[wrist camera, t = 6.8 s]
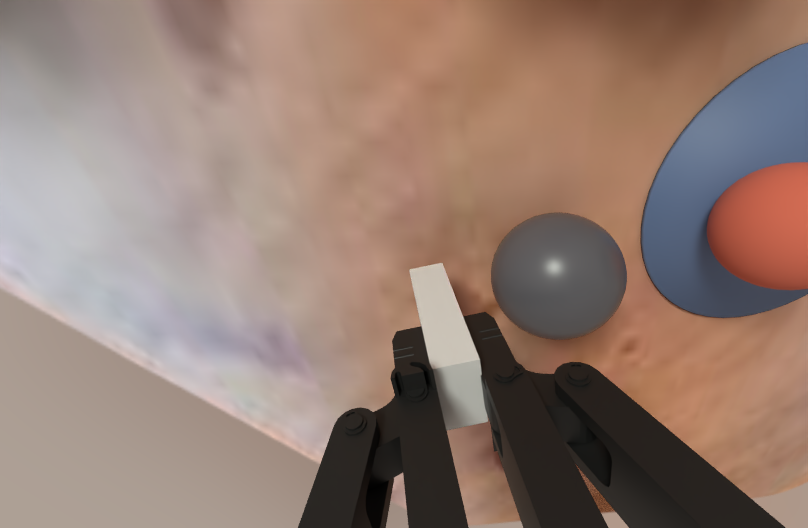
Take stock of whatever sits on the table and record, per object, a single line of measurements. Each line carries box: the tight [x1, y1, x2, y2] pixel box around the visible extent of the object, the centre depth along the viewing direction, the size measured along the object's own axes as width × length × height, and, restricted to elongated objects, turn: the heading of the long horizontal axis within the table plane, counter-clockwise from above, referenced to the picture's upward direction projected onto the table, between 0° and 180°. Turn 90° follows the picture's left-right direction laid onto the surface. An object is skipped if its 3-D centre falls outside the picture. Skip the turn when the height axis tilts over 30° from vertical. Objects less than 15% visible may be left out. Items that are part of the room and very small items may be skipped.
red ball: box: [707, 162, 808, 290], centre depth 18 cm, size 6×6×6 cm
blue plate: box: [641, 43, 808, 318], centre depth 20 cm, size 14×14×1 cm
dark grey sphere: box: [491, 213, 627, 340], centre depth 18 cm, size 6×6×6 cm
